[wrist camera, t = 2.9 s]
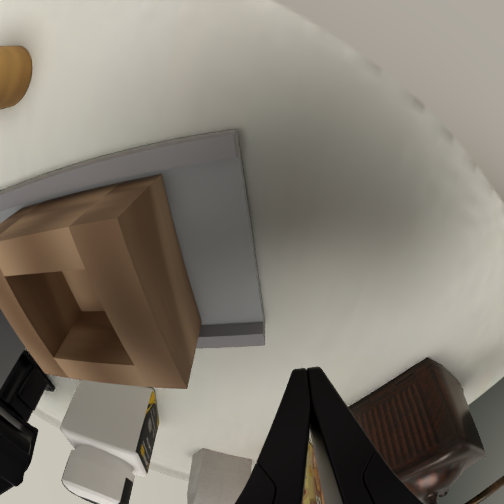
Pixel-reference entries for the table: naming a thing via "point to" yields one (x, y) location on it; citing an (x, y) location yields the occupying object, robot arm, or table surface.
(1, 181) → the table surface
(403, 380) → the manual coffee grinder
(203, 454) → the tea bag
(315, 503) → the candy box
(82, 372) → the block
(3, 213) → the rail board
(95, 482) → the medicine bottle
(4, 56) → the dowel
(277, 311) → the table surface
